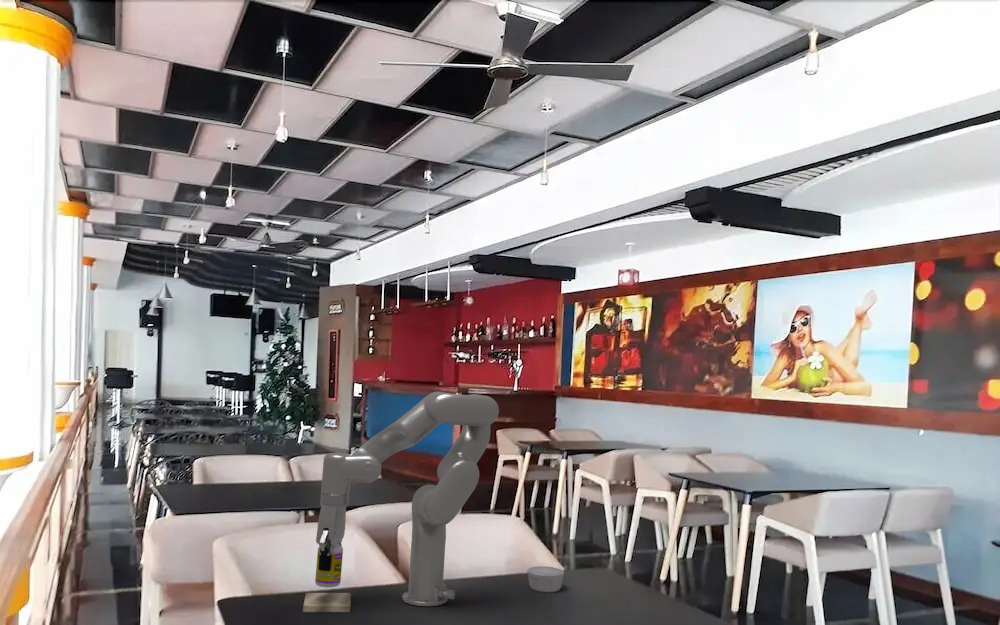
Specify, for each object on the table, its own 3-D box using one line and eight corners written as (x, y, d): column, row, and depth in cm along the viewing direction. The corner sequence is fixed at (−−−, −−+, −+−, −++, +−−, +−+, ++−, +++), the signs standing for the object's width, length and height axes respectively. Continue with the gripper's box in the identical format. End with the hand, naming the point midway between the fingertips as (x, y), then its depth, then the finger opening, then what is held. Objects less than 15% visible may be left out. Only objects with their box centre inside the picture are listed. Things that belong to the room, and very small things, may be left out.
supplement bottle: (334, 589, 209) (338, 539, 210) (310, 586, 210) (314, 537, 211) (344, 582, 215) (347, 534, 216) (321, 580, 217) (325, 532, 218)
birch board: (350, 598, 219) (350, 593, 219) (350, 612, 208) (350, 606, 208) (305, 598, 217) (306, 592, 217) (302, 612, 205) (303, 606, 206)
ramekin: (524, 591, 237) (525, 573, 237) (529, 581, 248) (529, 564, 248) (561, 595, 235) (562, 577, 235) (564, 585, 246) (565, 568, 246)
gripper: (332, 493, 223) (327, 558, 222) (309, 503, 206) (303, 573, 205) (357, 496, 222) (352, 561, 221) (337, 505, 205) (331, 576, 204)
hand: (329, 566), depth 213 cm, fingers closed on supplement bottle, 6 cm apart
